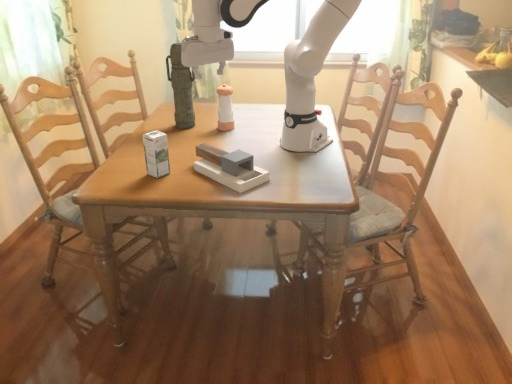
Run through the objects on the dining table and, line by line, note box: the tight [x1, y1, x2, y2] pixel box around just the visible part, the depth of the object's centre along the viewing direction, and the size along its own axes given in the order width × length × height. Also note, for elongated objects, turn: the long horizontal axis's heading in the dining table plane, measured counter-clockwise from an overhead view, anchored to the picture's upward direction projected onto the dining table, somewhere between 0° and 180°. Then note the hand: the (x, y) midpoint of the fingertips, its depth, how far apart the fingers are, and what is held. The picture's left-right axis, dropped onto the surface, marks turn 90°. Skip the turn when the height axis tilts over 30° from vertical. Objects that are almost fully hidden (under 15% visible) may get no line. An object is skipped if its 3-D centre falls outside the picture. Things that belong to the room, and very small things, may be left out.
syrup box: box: [142, 130, 171, 179], centre depth 142 cm, size 6×6×14 cm
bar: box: [194, 142, 229, 167], centre depth 148 cm, size 4×15×4 cm, turn 44°
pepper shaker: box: [216, 83, 235, 132], centre depth 182 cm, size 7×7×19 cm
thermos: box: [165, 42, 196, 130], centre depth 182 cm, size 9×12×35 cm
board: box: [193, 149, 271, 194], centre depth 142 cm, size 13×24×8 cm, turn 44°
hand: (209, 76), depth 146 cm, fingers open, 8 cm apart
